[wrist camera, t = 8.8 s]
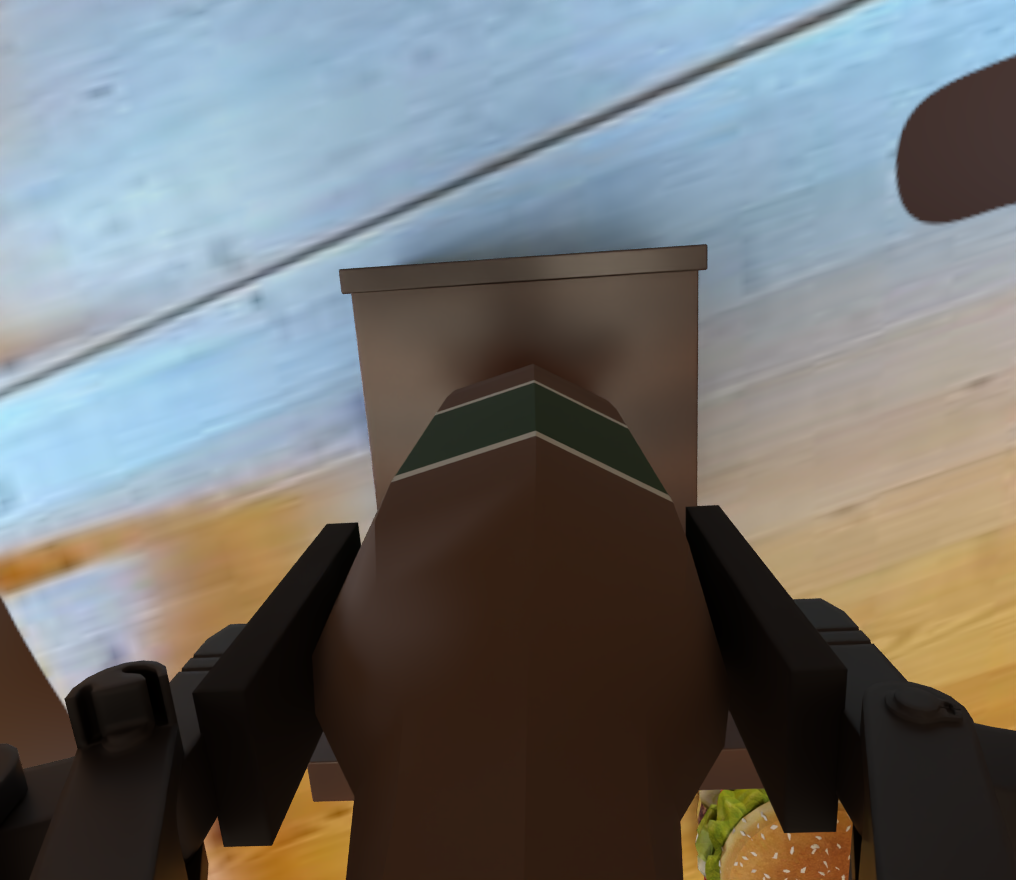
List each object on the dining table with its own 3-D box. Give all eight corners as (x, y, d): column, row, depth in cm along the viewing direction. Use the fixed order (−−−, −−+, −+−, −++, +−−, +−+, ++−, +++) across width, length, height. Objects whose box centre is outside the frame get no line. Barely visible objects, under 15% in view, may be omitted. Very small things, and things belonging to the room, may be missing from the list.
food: (677, 890, 48) (705, 1010, 40) (683, 721, 44) (715, 817, 36) (873, 891, 47) (940, 1013, 39) (895, 719, 44) (973, 816, 36)
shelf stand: (390, 268, 37) (223, 270, 17) (659, 250, 37) (817, 229, 16) (419, 540, 42) (312, 802, 21) (661, 529, 41) (790, 788, 21)
